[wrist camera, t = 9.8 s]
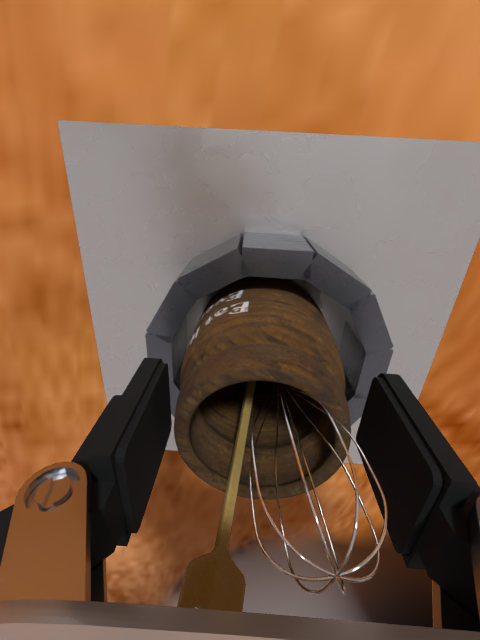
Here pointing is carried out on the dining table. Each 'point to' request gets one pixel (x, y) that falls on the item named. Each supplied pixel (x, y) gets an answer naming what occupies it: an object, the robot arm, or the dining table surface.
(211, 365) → the utensil holder
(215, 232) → the collar stand
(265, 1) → the dining table surface
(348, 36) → the dining table surface
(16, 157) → the dining table surface
